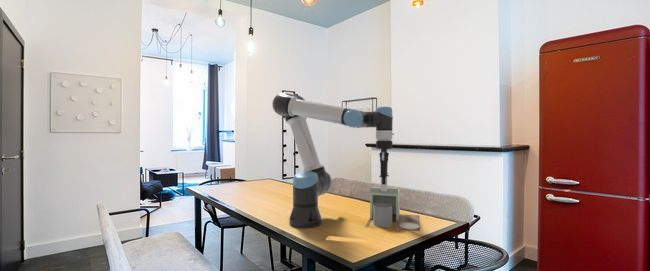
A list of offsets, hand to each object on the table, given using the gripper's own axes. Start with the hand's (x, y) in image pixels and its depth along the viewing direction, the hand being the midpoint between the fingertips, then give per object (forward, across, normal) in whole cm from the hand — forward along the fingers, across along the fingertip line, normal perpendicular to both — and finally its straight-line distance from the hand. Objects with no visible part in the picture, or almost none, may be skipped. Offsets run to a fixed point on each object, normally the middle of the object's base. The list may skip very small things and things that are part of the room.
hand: (384, 190), depth 148 cm
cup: (+16, -6, 0) cm, 17 cm away
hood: (+14, +7, 0) cm, 16 cm away
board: (+15, +1, -4) cm, 16 cm away
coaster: (+14, -6, -12) cm, 19 cm away
